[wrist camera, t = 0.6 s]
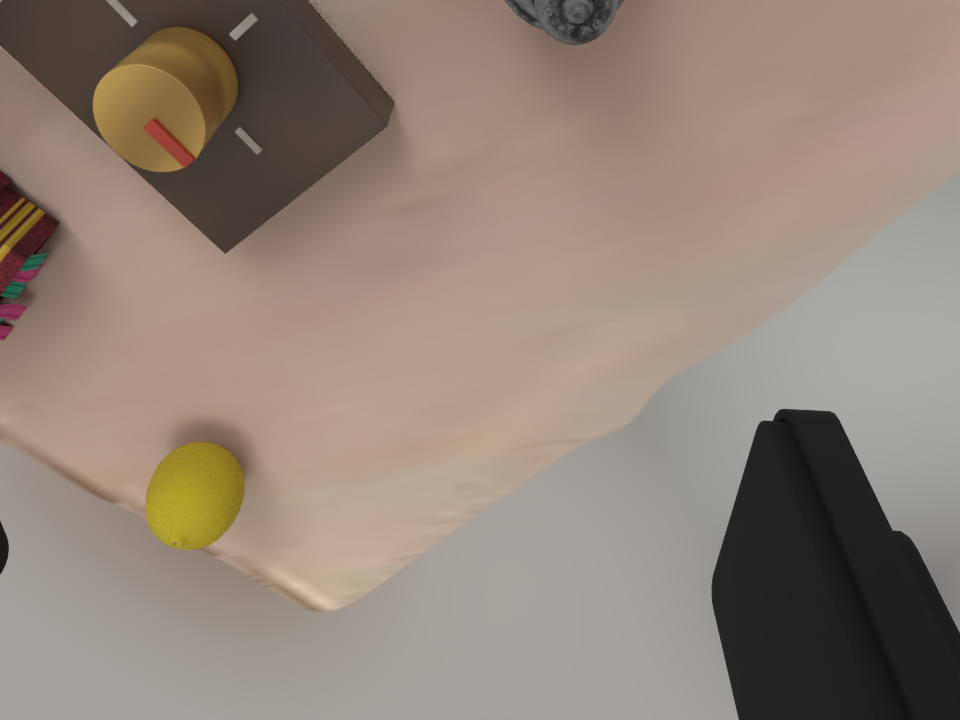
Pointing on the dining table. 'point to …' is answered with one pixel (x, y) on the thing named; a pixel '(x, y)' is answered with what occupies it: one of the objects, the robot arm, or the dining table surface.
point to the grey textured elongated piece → (568, 17)
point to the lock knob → (166, 99)
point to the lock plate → (259, 106)
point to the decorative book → (19, 247)
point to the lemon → (194, 495)
